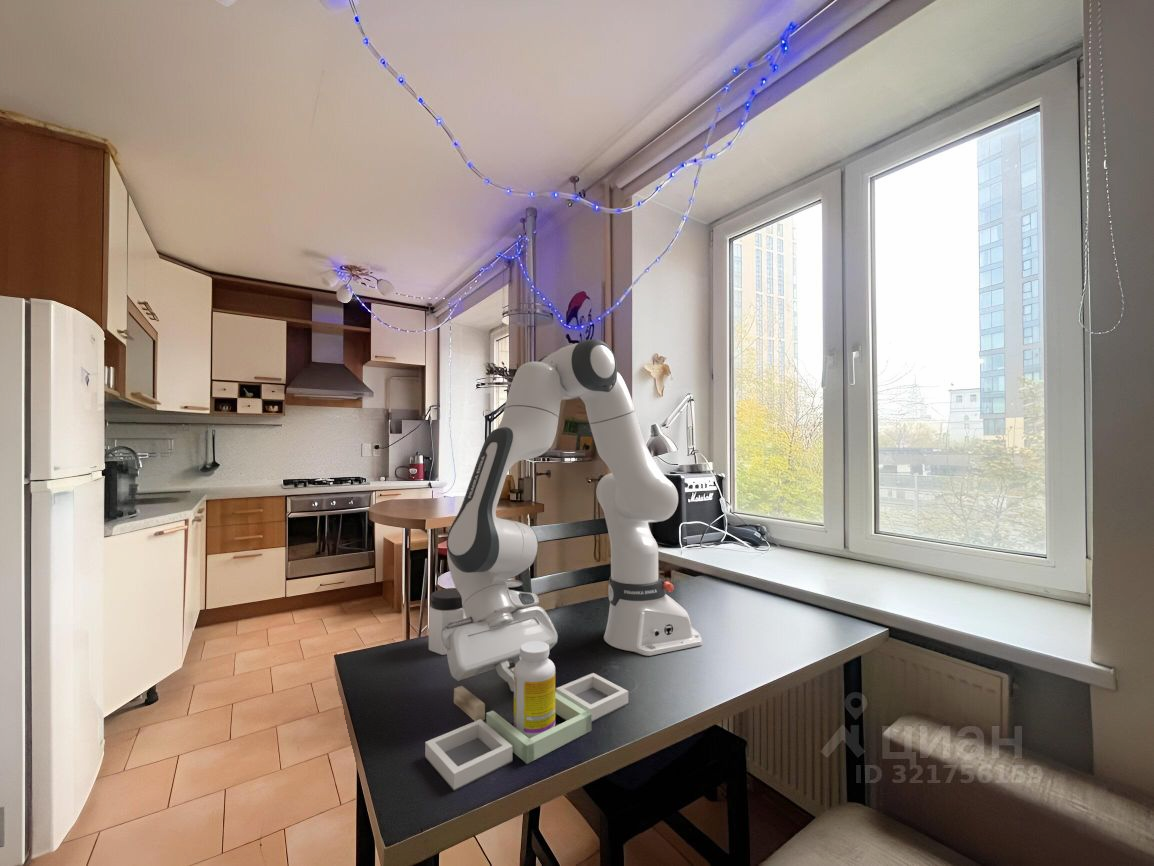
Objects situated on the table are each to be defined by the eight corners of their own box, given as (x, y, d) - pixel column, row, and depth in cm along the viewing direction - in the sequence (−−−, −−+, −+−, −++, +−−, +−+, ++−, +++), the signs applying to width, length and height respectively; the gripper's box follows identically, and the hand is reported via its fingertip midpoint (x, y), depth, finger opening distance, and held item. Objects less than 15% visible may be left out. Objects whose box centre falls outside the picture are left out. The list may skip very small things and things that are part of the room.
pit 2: (555, 700, 85) (555, 688, 85) (593, 684, 91) (593, 672, 91) (590, 722, 78) (590, 709, 79) (628, 703, 84) (628, 691, 84)
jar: (438, 638, 113) (439, 586, 113) (472, 639, 112) (473, 587, 113) (423, 654, 104) (424, 598, 104) (460, 656, 103) (460, 599, 104)
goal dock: (486, 728, 77) (486, 712, 77) (548, 702, 85) (548, 687, 85) (526, 763, 68) (527, 745, 68) (591, 730, 76) (591, 714, 76)
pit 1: (425, 757, 70) (425, 741, 70) (480, 733, 76) (480, 719, 76) (454, 791, 63) (454, 773, 63) (512, 761, 69) (512, 746, 69)
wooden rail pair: (453, 702, 84) (454, 688, 85) (516, 679, 93) (516, 666, 93) (476, 722, 78) (476, 707, 79) (541, 695, 87) (541, 681, 87)
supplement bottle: (564, 727, 77) (564, 646, 78) (533, 746, 72) (533, 659, 73) (535, 712, 82) (536, 635, 82) (504, 728, 77) (505, 646, 77)
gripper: (443, 615, 79) (471, 700, 72) (543, 592, 93) (576, 661, 85) (431, 635, 83) (457, 717, 75) (529, 609, 96) (560, 677, 88)
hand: (521, 687), depth 80 cm, fingers closed, pressing on supplement bottle
